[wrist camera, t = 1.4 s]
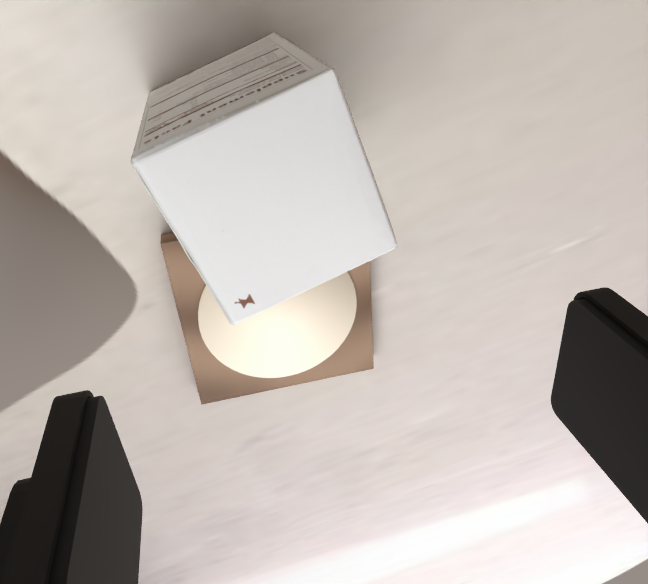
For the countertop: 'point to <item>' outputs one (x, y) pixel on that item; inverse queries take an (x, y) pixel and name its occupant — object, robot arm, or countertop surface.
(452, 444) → the countertop surface
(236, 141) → the supplement box
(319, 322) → the board
